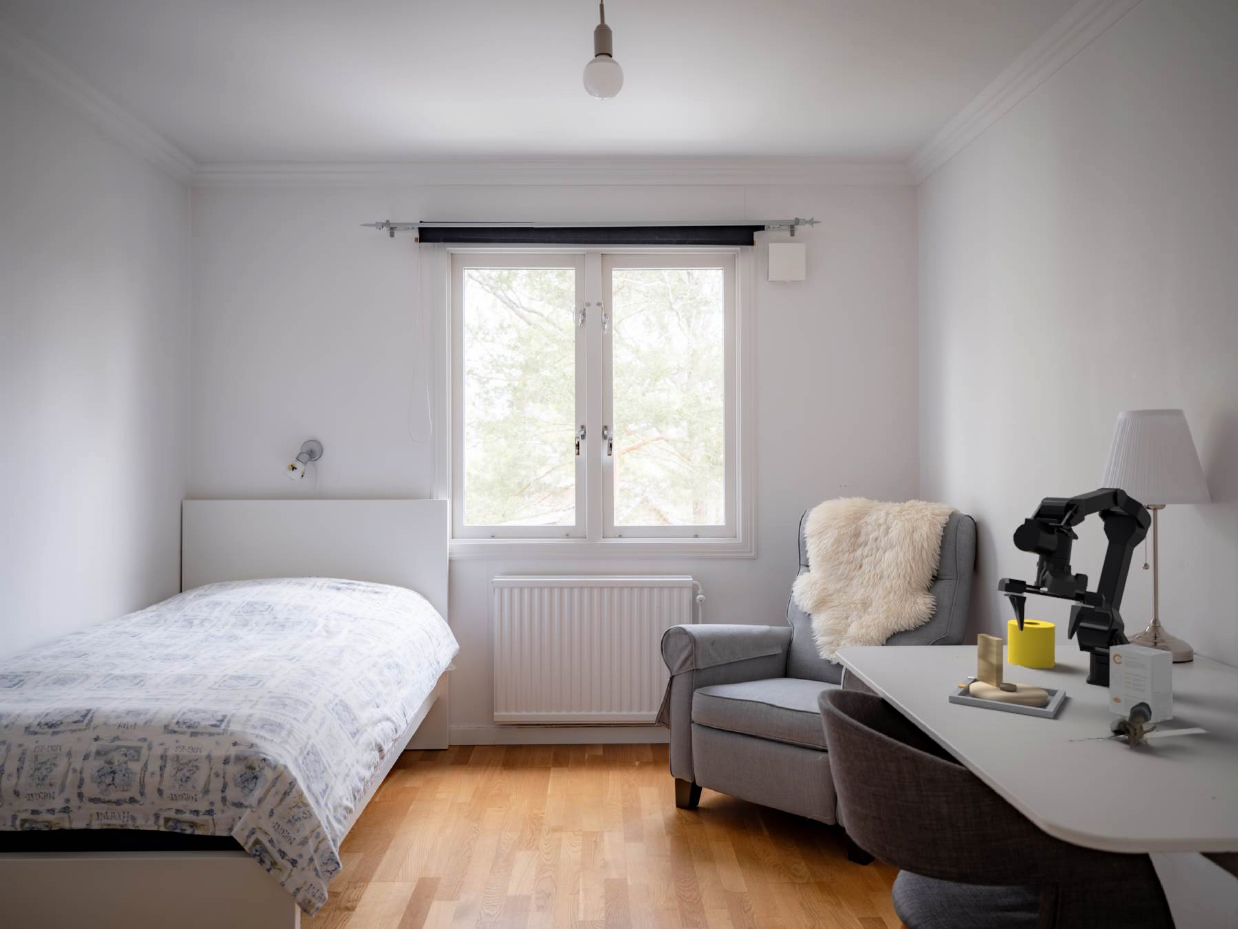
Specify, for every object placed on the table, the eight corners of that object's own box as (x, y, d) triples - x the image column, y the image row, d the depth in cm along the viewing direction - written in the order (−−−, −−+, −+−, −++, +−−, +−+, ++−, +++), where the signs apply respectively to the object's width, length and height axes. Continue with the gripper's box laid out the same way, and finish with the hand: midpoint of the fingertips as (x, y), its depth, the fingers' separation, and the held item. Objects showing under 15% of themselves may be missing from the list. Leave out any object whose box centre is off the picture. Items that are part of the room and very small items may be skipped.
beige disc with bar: (1065, 705, 161) (1065, 648, 161) (1002, 711, 157) (1003, 652, 157) (1009, 685, 176) (1009, 632, 175) (951, 689, 172) (951, 635, 172)
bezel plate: (970, 685, 179) (970, 675, 179) (1065, 700, 168) (1065, 688, 168) (948, 706, 164) (948, 694, 164) (1052, 722, 153) (1052, 710, 153)
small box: (1173, 723, 154) (1173, 651, 154) (1151, 728, 151) (1152, 655, 151) (1129, 711, 161) (1130, 643, 161) (1108, 715, 158) (1108, 646, 158)
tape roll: (1036, 670, 192) (1037, 629, 192) (998, 661, 201) (998, 621, 201) (1064, 665, 197) (1064, 625, 197) (1025, 656, 206) (1025, 618, 206)
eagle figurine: (1172, 747, 137) (1163, 721, 145) (1145, 710, 138) (1138, 686, 146) (1125, 764, 141) (1119, 739, 149) (1100, 728, 141) (1095, 704, 149)
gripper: (1017, 550, 166) (1007, 629, 165) (1120, 566, 163) (1110, 647, 161) (1001, 551, 177) (992, 625, 176) (1098, 566, 173) (1089, 642, 172)
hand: (1045, 635), depth 171 cm, fingers open, 9 cm apart
